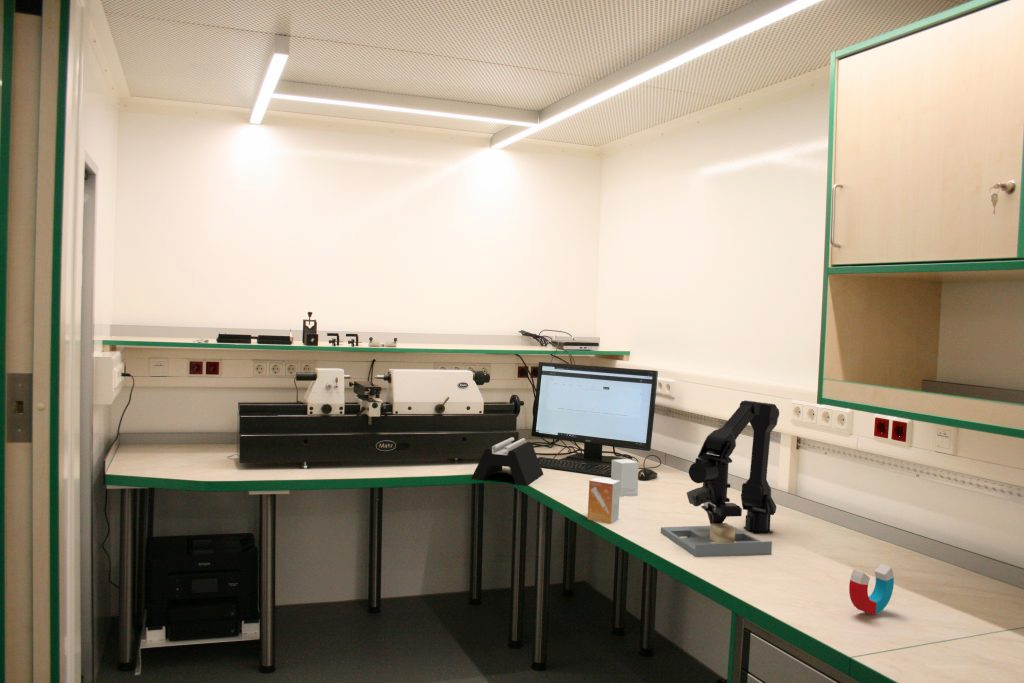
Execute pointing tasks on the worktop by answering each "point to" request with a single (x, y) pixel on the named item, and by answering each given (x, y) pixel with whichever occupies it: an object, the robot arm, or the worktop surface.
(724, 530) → the maple block
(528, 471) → the device stand
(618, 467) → the supplement box
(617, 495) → the small box
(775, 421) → the robot arm
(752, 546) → the board
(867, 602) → the magnet
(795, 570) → the worktop surface
